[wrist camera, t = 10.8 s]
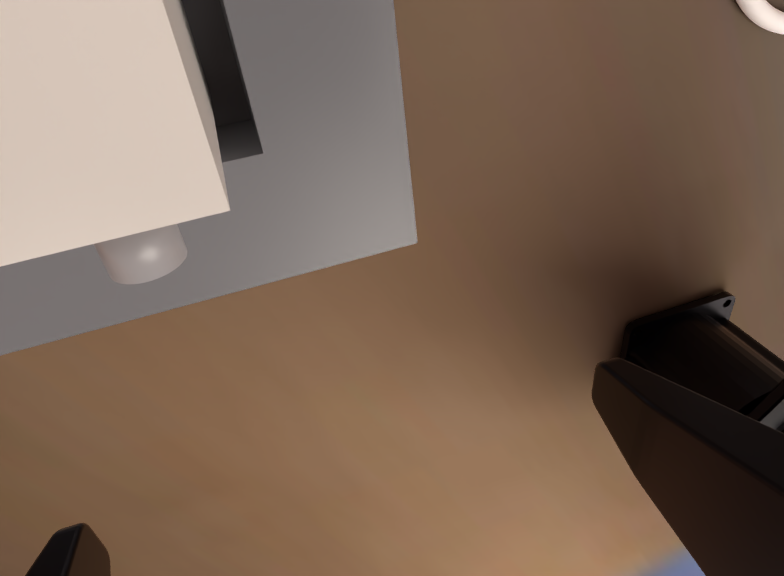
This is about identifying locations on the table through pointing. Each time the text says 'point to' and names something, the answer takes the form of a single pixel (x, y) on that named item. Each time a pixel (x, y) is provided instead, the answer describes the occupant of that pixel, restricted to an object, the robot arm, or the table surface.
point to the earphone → (763, 14)
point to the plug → (104, 133)
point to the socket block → (259, 168)
